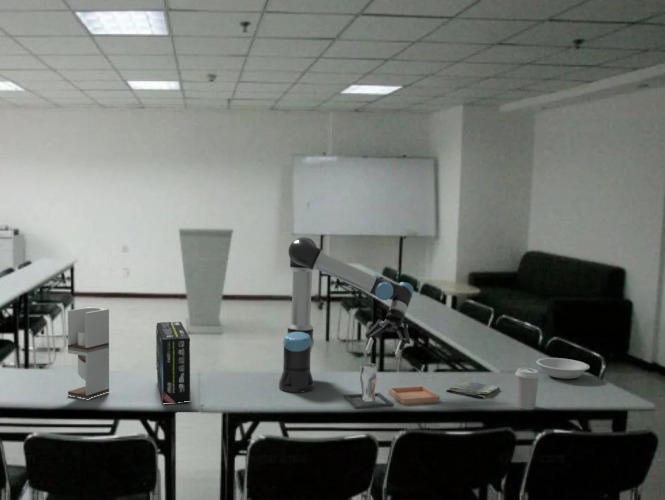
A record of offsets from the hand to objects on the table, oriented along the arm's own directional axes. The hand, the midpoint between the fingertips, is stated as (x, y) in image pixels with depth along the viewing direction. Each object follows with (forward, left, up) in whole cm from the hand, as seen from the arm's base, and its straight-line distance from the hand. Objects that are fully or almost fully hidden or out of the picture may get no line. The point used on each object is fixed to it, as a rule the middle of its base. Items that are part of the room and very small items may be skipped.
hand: (381, 353), depth 265 cm
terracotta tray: (+12, -8, -17) cm, 22 cm away
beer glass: (-8, -8, -18) cm, 21 cm away
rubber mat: (-8, -8, -17) cm, 21 cm away
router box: (-84, +22, -18) cm, 89 cm away
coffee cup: (+52, -29, -18) cm, 62 cm away
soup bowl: (+96, +8, -18) cm, 98 cm away
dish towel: (+42, -4, -18) cm, 46 cm away
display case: (-117, +25, -18) cm, 121 cm away
